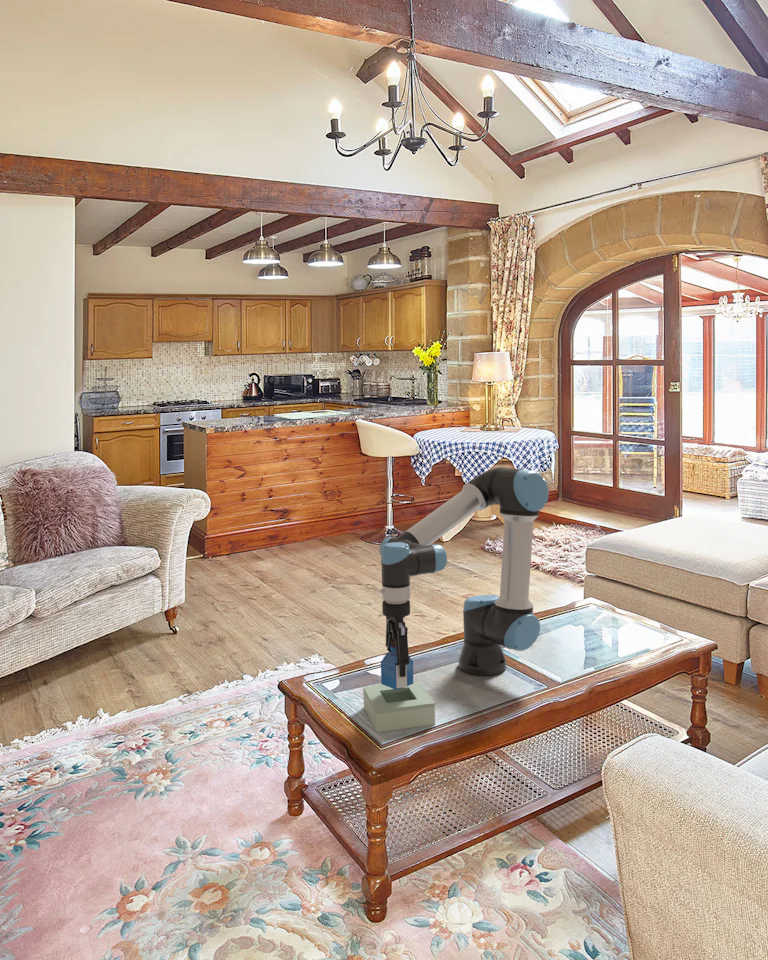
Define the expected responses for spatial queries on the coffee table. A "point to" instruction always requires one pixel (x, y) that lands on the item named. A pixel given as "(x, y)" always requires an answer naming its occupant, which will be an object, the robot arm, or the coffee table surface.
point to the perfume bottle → (393, 669)
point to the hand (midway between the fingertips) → (397, 680)
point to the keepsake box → (398, 707)
